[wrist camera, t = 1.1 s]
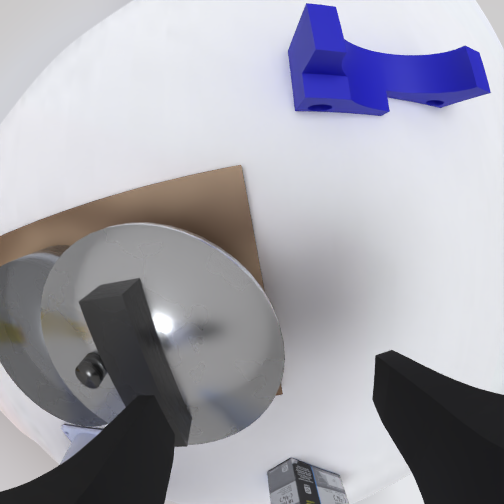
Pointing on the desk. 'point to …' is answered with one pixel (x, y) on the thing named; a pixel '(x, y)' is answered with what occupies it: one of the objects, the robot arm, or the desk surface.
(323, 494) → the grey blue carton
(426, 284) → the desk surface
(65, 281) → the lid
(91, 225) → the walnut board
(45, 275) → the grey dish and cube
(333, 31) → the cable clip
